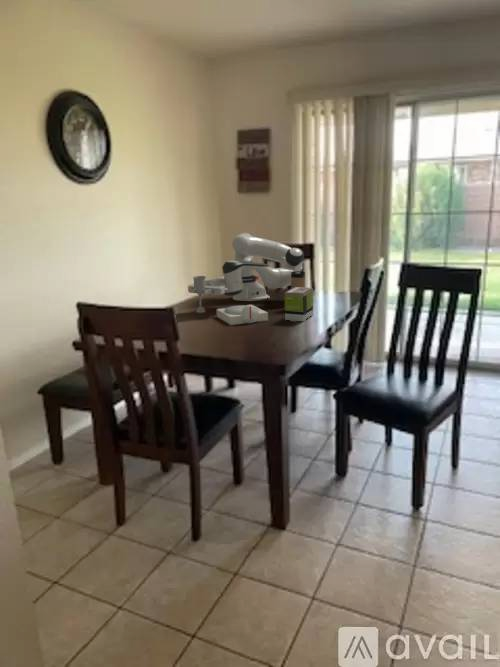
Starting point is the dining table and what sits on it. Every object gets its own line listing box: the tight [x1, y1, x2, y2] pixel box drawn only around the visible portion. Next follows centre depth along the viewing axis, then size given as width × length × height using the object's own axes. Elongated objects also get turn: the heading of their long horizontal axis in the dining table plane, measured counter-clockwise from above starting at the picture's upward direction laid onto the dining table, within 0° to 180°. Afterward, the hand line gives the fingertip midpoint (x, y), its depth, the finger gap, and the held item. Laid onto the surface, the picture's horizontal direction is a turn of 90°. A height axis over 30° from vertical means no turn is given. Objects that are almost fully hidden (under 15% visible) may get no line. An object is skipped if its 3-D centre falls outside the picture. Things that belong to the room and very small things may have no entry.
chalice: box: [192, 275, 207, 314], centre depth 256 cm, size 7×7×18 cm
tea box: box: [284, 286, 314, 322], centre depth 250 cm, size 15×10×15 cm
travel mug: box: [290, 270, 306, 289], centre depth 271 cm, size 8×8×20 cm
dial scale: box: [216, 304, 269, 326], centre depth 252 cm, size 20×22×9 cm
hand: (199, 292), depth 255 cm, fingers closed on chalice, 5 cm apart
